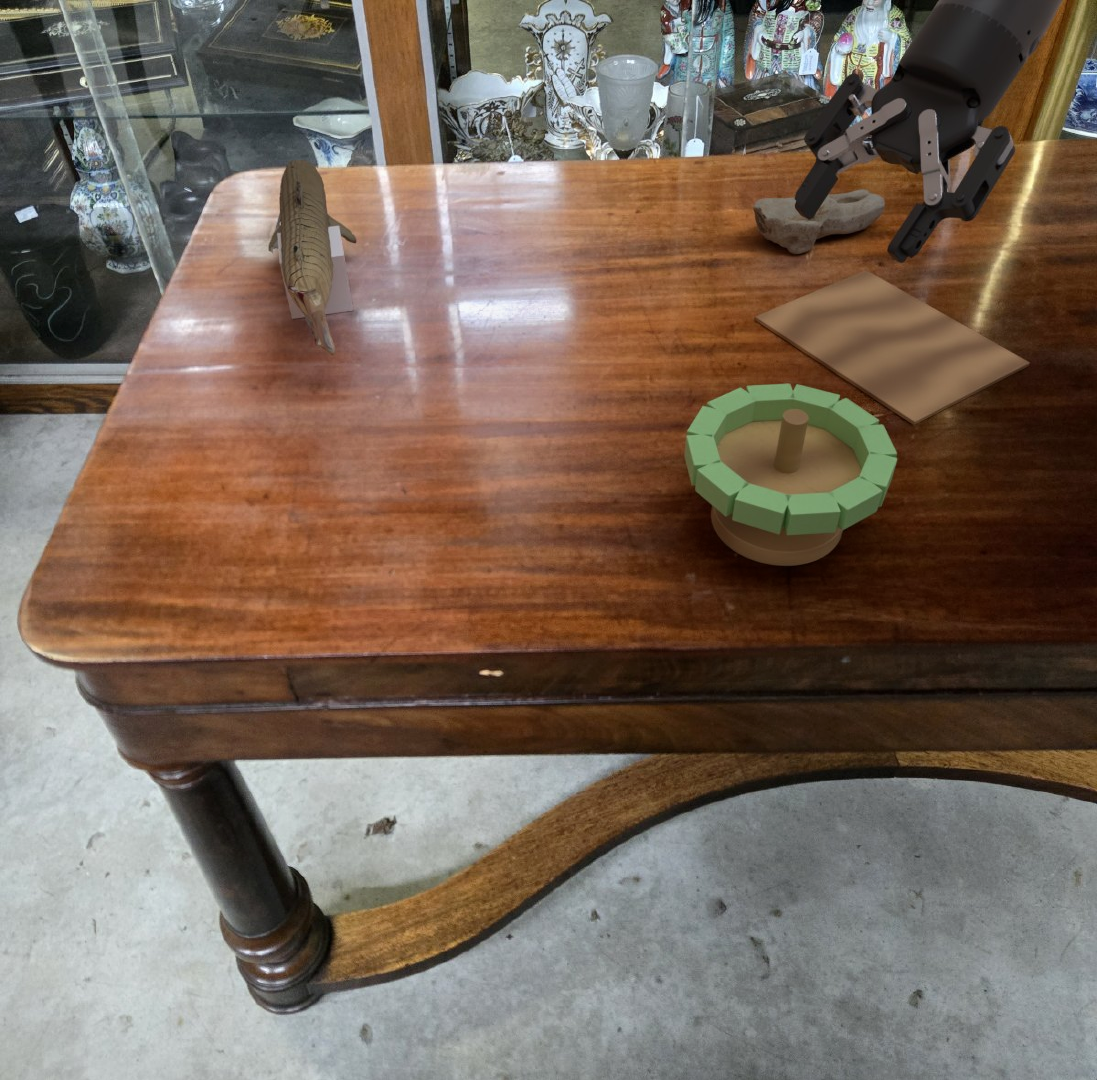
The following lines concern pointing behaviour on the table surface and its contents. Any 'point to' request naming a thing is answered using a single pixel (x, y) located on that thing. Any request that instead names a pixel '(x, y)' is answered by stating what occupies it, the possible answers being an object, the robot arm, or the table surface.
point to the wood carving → (311, 251)
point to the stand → (784, 482)
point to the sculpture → (816, 218)
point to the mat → (892, 345)
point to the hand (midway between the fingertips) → (846, 234)
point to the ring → (777, 507)
